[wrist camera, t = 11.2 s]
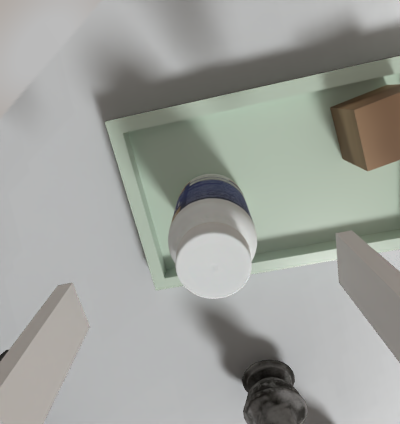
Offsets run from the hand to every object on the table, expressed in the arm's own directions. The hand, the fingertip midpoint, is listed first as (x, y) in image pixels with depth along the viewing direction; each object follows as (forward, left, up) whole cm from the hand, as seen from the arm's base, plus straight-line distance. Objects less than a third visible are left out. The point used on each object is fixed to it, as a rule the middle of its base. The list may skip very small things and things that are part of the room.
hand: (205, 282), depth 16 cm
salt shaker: (+2, -20, -11) cm, 23 cm away
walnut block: (+12, +4, -11) cm, 17 cm away
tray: (+5, +1, -11) cm, 13 cm away
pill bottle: (0, 0, -11) cm, 11 cm away
